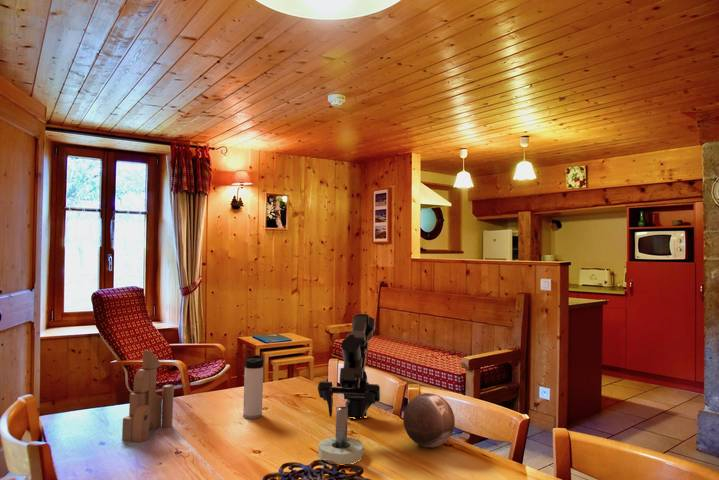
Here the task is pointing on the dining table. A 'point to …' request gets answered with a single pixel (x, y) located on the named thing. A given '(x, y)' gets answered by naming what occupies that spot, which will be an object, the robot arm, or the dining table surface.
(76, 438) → the dining table surface
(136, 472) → the dining table surface
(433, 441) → the wooden sphere
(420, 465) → the dining table surface
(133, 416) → the wooden toy
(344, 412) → the metal peg
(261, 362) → the travel mug
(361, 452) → the grey ring
